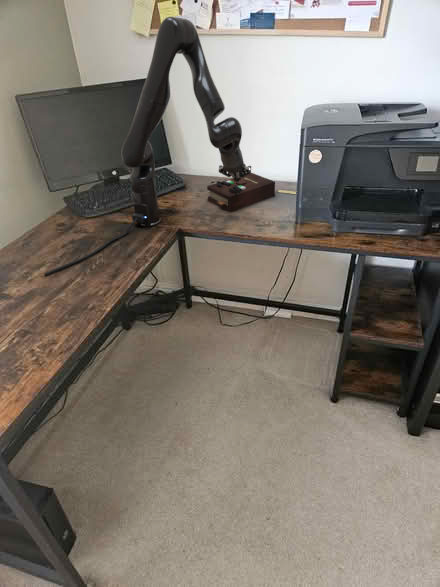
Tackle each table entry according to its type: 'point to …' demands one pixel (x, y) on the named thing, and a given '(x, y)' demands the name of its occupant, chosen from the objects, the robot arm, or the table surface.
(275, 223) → the table surface
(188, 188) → the table surface
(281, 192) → the tape mark
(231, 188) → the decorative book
